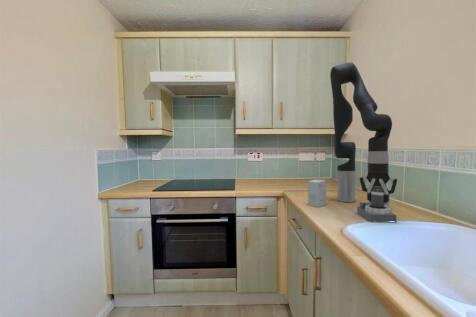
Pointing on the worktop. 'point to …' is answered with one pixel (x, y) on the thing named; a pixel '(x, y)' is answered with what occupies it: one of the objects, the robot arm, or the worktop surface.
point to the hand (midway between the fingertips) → (377, 202)
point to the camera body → (375, 212)
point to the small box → (317, 193)
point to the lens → (377, 197)
